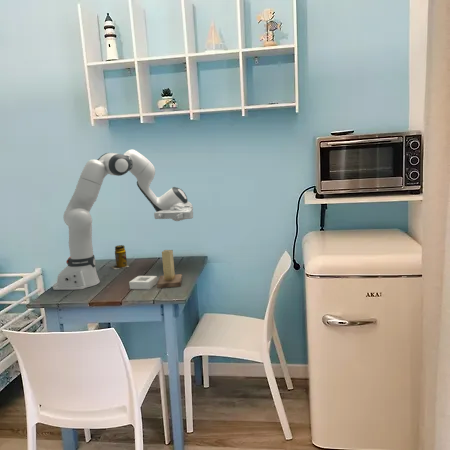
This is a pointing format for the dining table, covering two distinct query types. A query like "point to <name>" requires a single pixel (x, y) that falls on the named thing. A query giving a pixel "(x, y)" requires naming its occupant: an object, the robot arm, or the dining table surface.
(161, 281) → the board
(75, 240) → the robot arm
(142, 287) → the socket block
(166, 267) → the peg
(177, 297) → the dining table surface
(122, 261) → the condiment
